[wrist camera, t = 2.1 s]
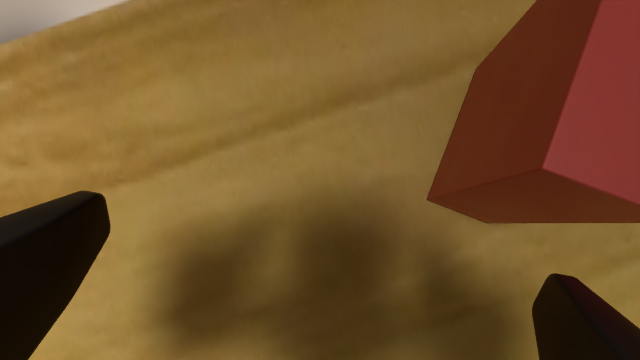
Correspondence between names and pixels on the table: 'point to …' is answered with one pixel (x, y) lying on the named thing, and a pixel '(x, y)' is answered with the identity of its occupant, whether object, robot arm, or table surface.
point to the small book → (551, 121)
